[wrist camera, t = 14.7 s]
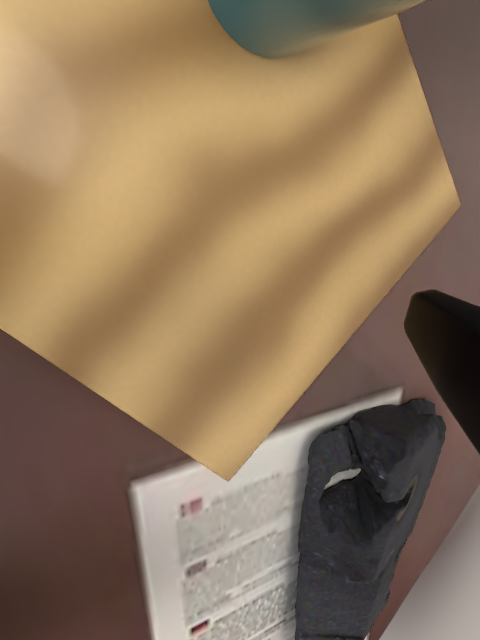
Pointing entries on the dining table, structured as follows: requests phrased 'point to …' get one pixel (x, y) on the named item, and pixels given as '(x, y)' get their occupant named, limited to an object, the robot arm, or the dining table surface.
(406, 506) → the dark slate chunk
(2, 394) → the dining table surface
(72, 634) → the dining table surface
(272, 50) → the pot
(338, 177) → the mat
